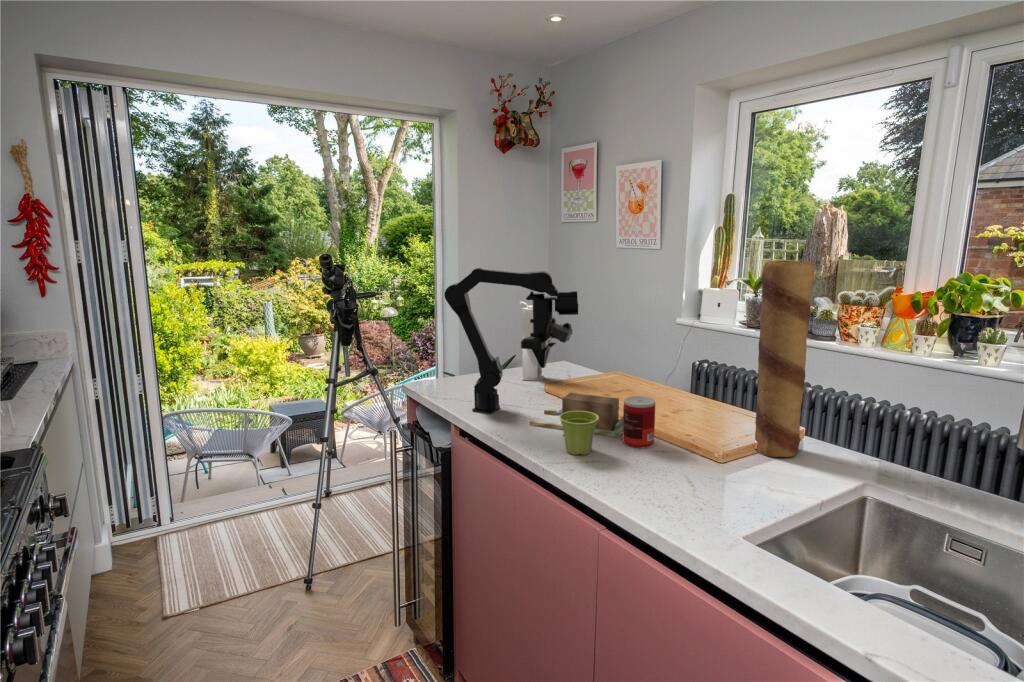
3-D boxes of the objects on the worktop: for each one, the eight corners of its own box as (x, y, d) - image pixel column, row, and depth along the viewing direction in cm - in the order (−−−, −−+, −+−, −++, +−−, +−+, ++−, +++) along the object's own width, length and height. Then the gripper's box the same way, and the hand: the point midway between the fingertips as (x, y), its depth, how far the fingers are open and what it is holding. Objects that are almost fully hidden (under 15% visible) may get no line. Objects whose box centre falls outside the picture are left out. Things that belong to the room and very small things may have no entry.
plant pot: (606, 450, 139) (606, 415, 137) (583, 461, 132) (583, 425, 130) (574, 441, 145) (575, 408, 144) (551, 451, 138) (551, 417, 137)
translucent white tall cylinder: (518, 380, 205) (517, 303, 200) (521, 375, 213) (520, 300, 208) (541, 381, 204) (541, 303, 199) (544, 375, 212) (543, 300, 207)
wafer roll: (756, 439, 144) (768, 259, 136) (802, 448, 138) (818, 260, 130) (745, 452, 136) (757, 261, 127) (794, 462, 130) (810, 262, 121)
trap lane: (522, 430, 153) (521, 419, 153) (551, 407, 173) (551, 398, 172) (613, 443, 143) (613, 432, 142) (633, 417, 163) (634, 407, 162)
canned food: (651, 437, 147) (652, 396, 145) (656, 448, 139) (657, 405, 137) (621, 436, 148) (622, 395, 146) (624, 448, 140) (625, 404, 138)
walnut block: (562, 426, 157) (562, 398, 155) (569, 420, 162) (569, 392, 160) (612, 433, 151) (612, 404, 149) (618, 426, 156) (618, 398, 154)
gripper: (557, 321, 154) (557, 377, 157) (579, 312, 171) (579, 363, 174) (519, 319, 159) (520, 373, 161) (544, 310, 175) (544, 360, 178)
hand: (542, 367), depth 169 cm, fingers closed
